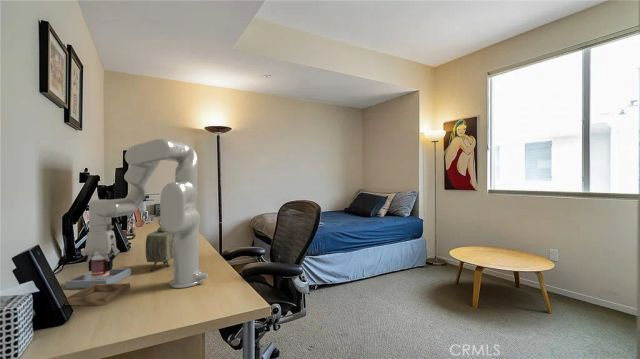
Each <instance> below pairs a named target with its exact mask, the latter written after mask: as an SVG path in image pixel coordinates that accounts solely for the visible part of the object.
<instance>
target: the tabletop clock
mask: <svg viewBox="0 0 640 359" xmlns="http://www.w3.org/2000/svg"><path fill="white" fill-rule="evenodd" d="M157 224H158V225H159V227H158V228H157V230H155V231H152V232H150V233H149V234H147V235H146V239H145V249H144V250H145V259H146V262H147V263H153V265H152V266H151V267H150V268H149V270H150V271H153V270H154V269H155V266H156V264H158V263H163V264H164V265H165V267H166V268H170V266H171V265H170V263H168V261H171V260H174V236H175V234H168V233H166V232H165V231H164V230H163V229H162V226H161V222H160V218H159V219H158V222H157Z"/></svg>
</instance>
